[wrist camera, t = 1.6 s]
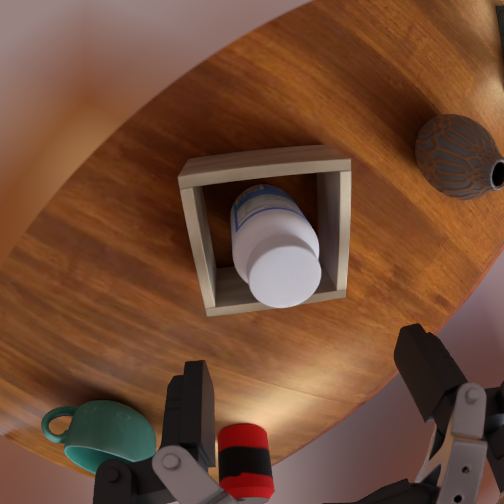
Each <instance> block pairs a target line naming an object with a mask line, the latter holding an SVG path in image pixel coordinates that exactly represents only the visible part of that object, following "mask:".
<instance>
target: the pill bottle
mask: <svg viewBox="0 0 504 504" xmlns="http://www.w3.org/2000/svg"><path fill="white" fill-rule="evenodd" d="M230 225H231V237H232V253H233V261H234V265H235V268H236V270H237V272H238V274H239V275H240V276H241V278H242V279H243V280H244V281H245V282H246V283H248V284H249V288H250V290H251V292H252V294H253V295H254V297H255V298H256V299H257V300H258V301H260V302H261V303H263V304H265V305H267V306H270V307H275V308H287V307H292V306H295V305H298V304H300V303H302V302H304V301H305V300H307V299H308V298H309V297H310V296H311V295H312V294H313V293H314V292H315V290H316V289H317V287H318V285H319V283H320V279H321V267H320V264H319V261H318V257H319V243H318V239H317V236H316V234H315V232H314V230H313V228H312V227H311V225H310V224H309V222H308V221H307V219H306V218H305V216H304V215H303V213H302V212H301V210H300V209H299V208H298V206H297V205H296V203H295V202H294V200H293V199H292V197H291V196H290V195H289V194H288V193H287V192H286V191H284V190H283V189H281V188H279V187H277V186H274V185H269V184H260V185H255V186H252V187H250V188H248V189H246V190H245V191H243V192H242V193H241V194H240V195H239V196H238V197H237V198H236V200H235V202H234V203H233V206H232V209H231V214H230Z"/></svg>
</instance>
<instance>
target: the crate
mask: <svg viewBox="0 0 504 504" xmlns="http://www.w3.org/2000/svg"><path fill="white" fill-rule="evenodd" d="M307 173H317V203H318V243H319V257H318V261H319V264H320V267H321V279H320V283H319V285H318V287H317V289H316V290H315V292H314V293H313V294H312V295H311V296H310V297H309V298H308V299H307V300H305V301H304V302H302V303H300V304H298V305H301V304H307V303H313V302H320V301H326V300H332V299H338V298H344V297H345V296H346V284H347V271H348V257H349V239H350V215H351V158H349V157H347V156H345V155H343V154H342V153H340V152H338V151H336V150H334V149H332V148H330V147H328V146H326V145H308V146H294V147H282V148H271V149H261V150H251V151H243V152H234V153H226V154H219V155H212V156H205V157H198V158H192V159H188V160H187V162H186V164H185V165H184V167H183V169H182V170H181V172H180V174H179V175H178V183H179V188H180V194H181V199H182V204H183V210H184V215H185V220H186V225H187V230H188V234H189V239H190V244H191V249H192V253H193V258H194V262H195V267H196V271H197V276H198V280H199V285H200V289H201V293H202V297H203V302H204V306H205V310H206V314H207V316H217V315H226V314H234V313H243V312H251V311H258V310H266V309H273V308H275V307H270V306H267V305H265V304H263V303H261V302H260V301H258V300H257V299H256V298H255V297H254V295H253V294H252V292H251V290H250V288H249V284H248V283H246V282H245V281H244V280H243V279H242V278H241V276H240V275H239V274H238V272H237V270H236V268H235V266H233V267H225V268H216V262H215V257H214V251H213V246H212V240H211V234H210V228H209V223H208V217H207V211H206V205H205V199H204V193H203V185H209V184H217V183H224V182H232V181H240V180H248V179H257V178H265V177H275V176H285V175H295V174H307Z"/></svg>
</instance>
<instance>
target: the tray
mask: <svg viewBox="0 0 504 504" xmlns="http://www.w3.org/2000/svg"><path fill="white" fill-rule="evenodd" d="M496 10H497V15H498V21H499V26H500V33H501V40H502V47H503V56H504V6H496Z"/></svg>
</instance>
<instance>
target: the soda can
mask: <svg viewBox="0 0 504 504" xmlns="http://www.w3.org/2000/svg"><path fill="white" fill-rule="evenodd" d="M218 464H219V486H220V487H221V488H223V489H224V490H225V491H226V492H227V493H229V494H230V495H231V496H232V497H233V498H234V499H235V500H236V501H237V502H239V503H240V504H263V503H266V502H268V501H269V499H270V497H271V496H272V494H273V493H274V484H273V477H272V470H271V462H270V455H269V447H268V440H267V433H266V431H265V430H264V429H262V428H261V427H259V426H256V425H251V424H238V425H232V426H229V427H226V428H224V429H223V430H222V431H221V432H220V433H219V434H218Z"/></svg>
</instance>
